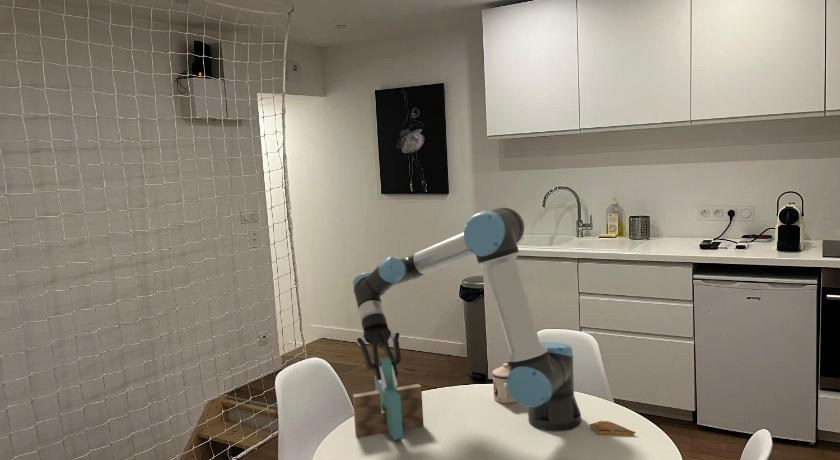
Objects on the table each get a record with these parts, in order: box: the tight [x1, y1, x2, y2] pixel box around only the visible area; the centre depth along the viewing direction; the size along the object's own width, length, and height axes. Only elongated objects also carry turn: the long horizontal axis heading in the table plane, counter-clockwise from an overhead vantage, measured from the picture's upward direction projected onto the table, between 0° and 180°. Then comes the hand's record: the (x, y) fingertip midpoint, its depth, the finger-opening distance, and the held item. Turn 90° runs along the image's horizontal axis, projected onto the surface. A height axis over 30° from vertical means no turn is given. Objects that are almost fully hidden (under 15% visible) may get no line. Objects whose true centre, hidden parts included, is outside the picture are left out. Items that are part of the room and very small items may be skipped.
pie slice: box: [589, 420, 636, 437], centre depth 174 cm, size 11×8×2 cm
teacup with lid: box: [492, 362, 517, 404], centre depth 201 cm, size 12×9×12 cm
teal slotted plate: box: [374, 356, 404, 441], centre depth 183 cm, size 20×2×20 cm, turn 18°
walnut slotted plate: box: [352, 383, 424, 439], centre depth 183 cm, size 20×2×12 cm, turn 108°
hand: (390, 388), depth 179 cm, fingers closed on teal slotted plate, 2 cm apart
